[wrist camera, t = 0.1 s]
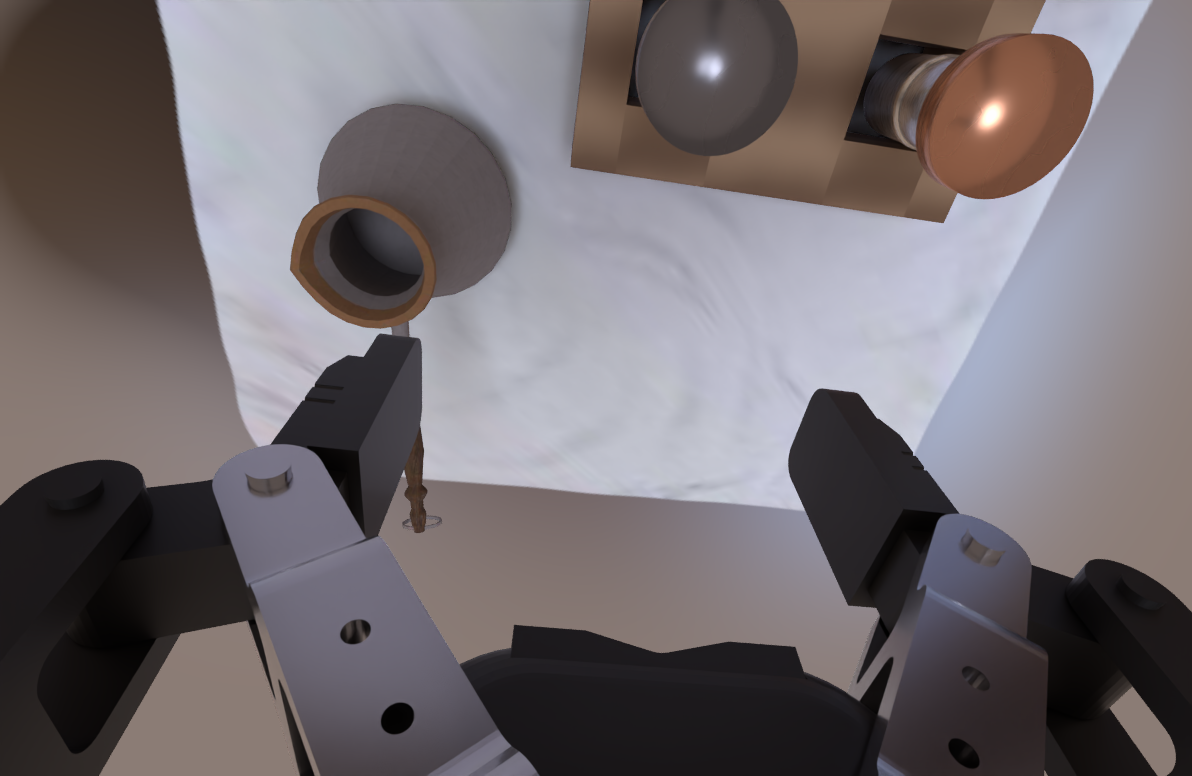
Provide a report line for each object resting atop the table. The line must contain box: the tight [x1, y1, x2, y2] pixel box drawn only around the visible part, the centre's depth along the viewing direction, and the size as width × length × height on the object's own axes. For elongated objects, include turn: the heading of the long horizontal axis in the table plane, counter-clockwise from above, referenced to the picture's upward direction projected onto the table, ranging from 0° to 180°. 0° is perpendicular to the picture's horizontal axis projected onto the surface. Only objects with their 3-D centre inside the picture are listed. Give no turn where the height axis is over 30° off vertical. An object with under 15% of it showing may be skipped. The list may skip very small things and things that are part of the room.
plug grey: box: [635, 0, 798, 156], centre depth 26 cm, size 6×6×10 cm
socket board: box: [571, 0, 1046, 223], centre depth 33 cm, size 12×22×5 cm, turn 82°
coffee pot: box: [290, 104, 511, 533], centre depth 34 cm, size 21×12×15 cm, turn 2°
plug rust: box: [863, 33, 1093, 199], centre depth 27 cm, size 6×6×10 cm
